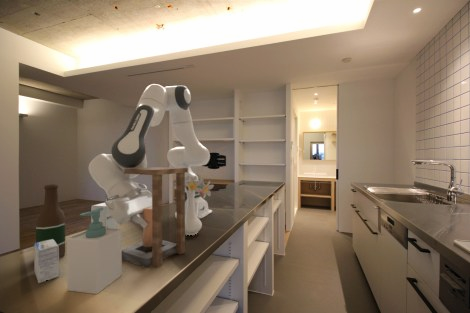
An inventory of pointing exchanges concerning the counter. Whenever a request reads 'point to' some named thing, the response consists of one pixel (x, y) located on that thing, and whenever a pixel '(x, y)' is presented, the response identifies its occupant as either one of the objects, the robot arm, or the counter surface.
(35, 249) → the medicine box
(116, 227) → the supplement box
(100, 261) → the soap bottle
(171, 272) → the counter surface
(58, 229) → the beer bottle
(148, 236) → the peg
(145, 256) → the brown wooden tall frame
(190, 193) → the flower vase
